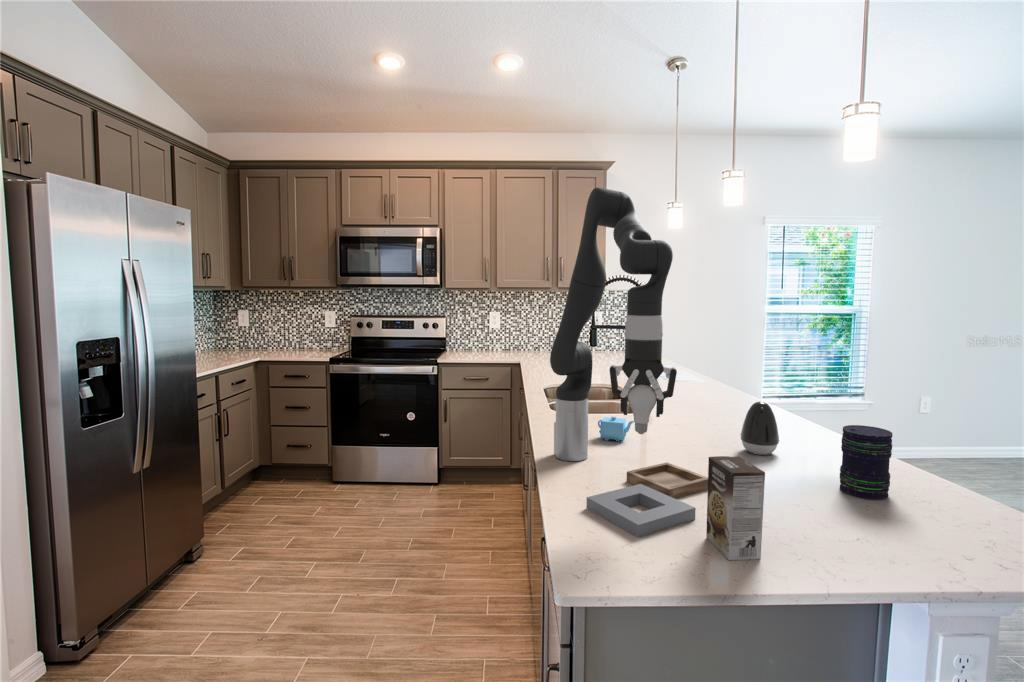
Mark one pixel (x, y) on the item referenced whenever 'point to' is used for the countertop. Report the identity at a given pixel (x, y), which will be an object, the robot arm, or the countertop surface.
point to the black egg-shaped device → (760, 430)
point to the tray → (668, 479)
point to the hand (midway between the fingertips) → (641, 415)
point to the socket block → (640, 523)
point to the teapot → (613, 428)
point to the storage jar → (865, 462)
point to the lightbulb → (641, 405)
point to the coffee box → (735, 507)
